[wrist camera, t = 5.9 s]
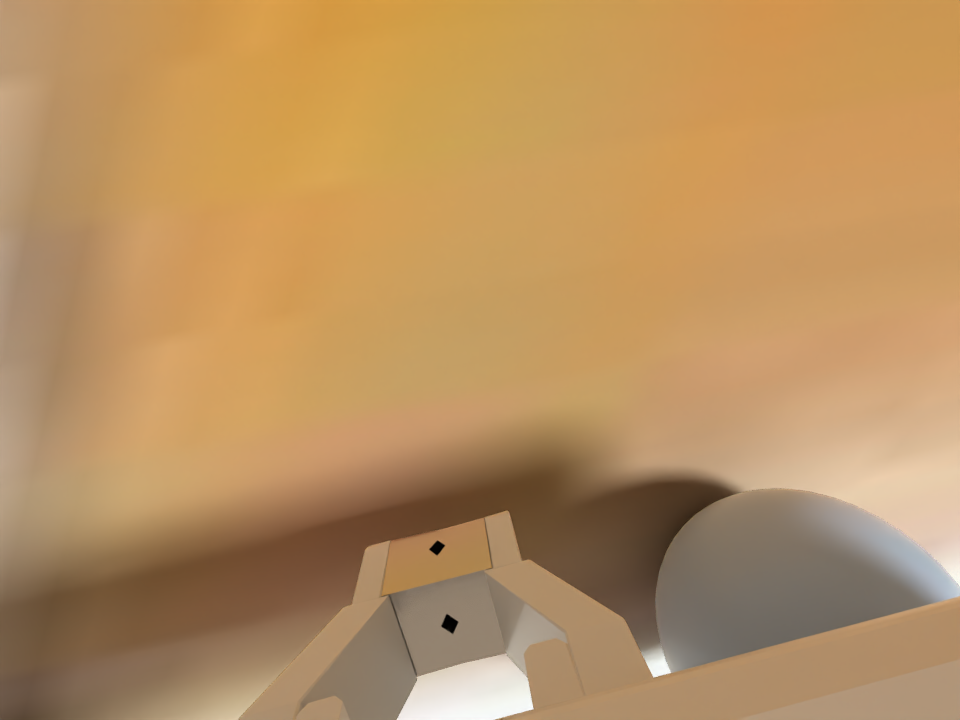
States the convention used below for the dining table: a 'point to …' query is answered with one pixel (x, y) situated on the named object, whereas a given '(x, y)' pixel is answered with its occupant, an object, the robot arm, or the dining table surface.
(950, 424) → the dining table surface
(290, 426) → the dining table surface
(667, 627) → the blue ball
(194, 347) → the dining table surface
